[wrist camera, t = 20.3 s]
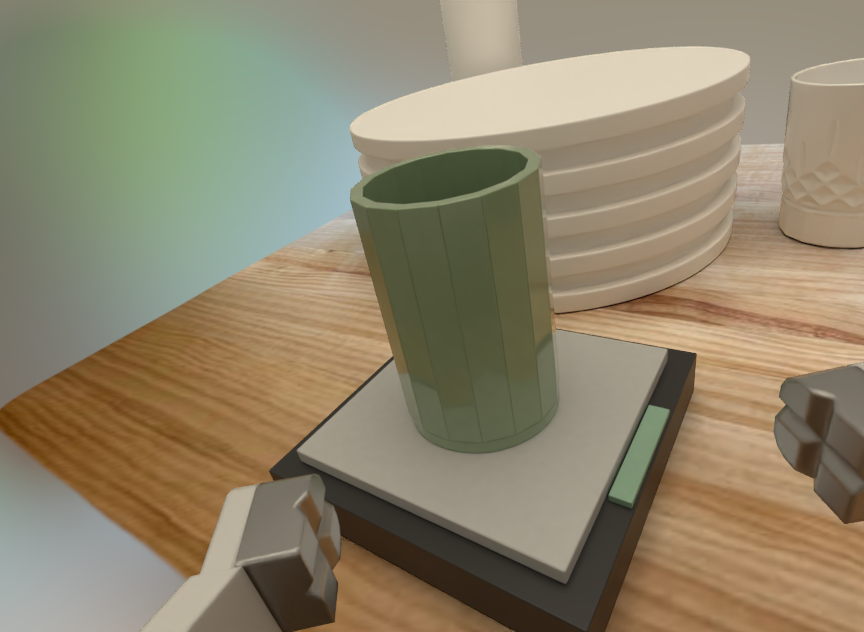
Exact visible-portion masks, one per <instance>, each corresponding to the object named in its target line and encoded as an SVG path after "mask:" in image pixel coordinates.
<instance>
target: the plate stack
mask: <svg viewBox="0 0 864 632" xmlns="http://www.w3.org/2000/svg"><path fill="white" fill-rule="evenodd" d="M750 61H751V60H750V57H749V56H748V55H747V54H745V53H743V52H741V51H738V50H734V49H728V48H719V47H696V46H695V47H664V48H650V49H638V50H628V51H618V52H611V53H601V54H594V55H587V56H580V57H573V58H566V59H561V60H554V61H548V62H543V63H537V64H532V65H526V66H521V67H516V68H511V69H506V70H501V71H497V72H492V73H487V74H483V75H479V76H474V77H470V78H466V79H462V80H458V81H454V82H450V83H447V84H443V85H440V86H436V87H432V88H429V89H425V90H422V91H419V92H416V93H413V94H409V95H407V96H404V97H401V98H398V99H395V100H392V101H390V102H387V103H385V104H382V105H380V106H378V107H376V108H373V109H371V110H369V111H368V112H366V113H364V114H362V115H361V116H359V117H358V118H356V119H355V120H354V121H353V122H352V124H351V125H350V133H351V136H352V141H353V144H354V147H355V148H356V149H357V150H358V151H359V152H361V153H362V154H361V155H360V158H359V161H358V162H359V168H360V171H361V176H362V179H363V178H364V177H366V176H368V175H370V174H372V173H374V172H376V171H379V170H381V169H383V168H385V167H388V166H389V165H393V164H396V163H399V162H402V161H405V160H408V159H411V158H414V157H417V156H422V155H426V154H431V153H435V152H440V151H444V150H449V149H457V148H465V147H473V146H489V145H509V146H516V147H522V148H528V149H531V150H533V151H534V152H535V153H537V154H538V155H540V156H541V158H542V167H543V180H544V192H545V205H546V217H547V229H548V242H549V254H550V266H551V279H552V291H553V304H554V313H564V312H573V311H580V310H586V309H592V308H598V307H603V306H608V305H612V304H617V303H621V302H625V301H628V300H632V299H636V298H639V297H642V296H645V295H648V294H651V293H654V292H657V291H660V290H662V289H665V288H667V287H669V286H672V285H674V284H676V283H678V282H681V281H683V280H684V279H686V278H688V277H690V276H692V275H694V274H695V273H697V272H698V271H700V270H702V269H703V268H704V267H706V266H707V265H708V264H710V263H711V262H712V261H713V260H714V259H715V258H717V257H718V255H719V254H720V253H721V252H722V251H723V250H724V248H725V247H726V245H727V243H728V241H729V239H730V237H731V232H732V224H733V207H732V206H733V204H734V202H735V197H736V188H737V175H736V172H735V171H736V169H737V167H738V165H739V161H740V152H741V138H740V136H739V134H738V133H739V131H740V130H741V128H742V126H743V123H744V116H745V106H746V101H745V99H744V97H743V96H742V95H741V94H740V93H739V92H740V91H742V90H743V89H744V88H745V86H746V85H747V83H748V79H749V71H750Z"/></svg>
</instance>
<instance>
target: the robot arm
mask: <svg viewBox="0 0 864 632" xmlns="http://www.w3.org/2000/svg"><path fill="white" fill-rule="evenodd" d="M779 397H780V398H781V400H782V401H783V402H784V403H785V404H786V405H785V406H784V408H783V409H782V410H781V411H780V412H779V413H778V414H777V415H776V416H775V423H774V435H775V439H776V442H777V446H778V448H779V450H780V451H781V453H782V455H783V456H784V458H785V459H786V461H787V462H788V463H789V464H790V465H791V466H792V467H793V468H794V470H796V471H798V472H800V473H803V474H805V475H807V476H809V477H811V478H814V492H815V493H816V494H817V495H818V496H819V497H820V498H821V499H822V500H823V501H824V502H825V503H826V504H827V506H828V507H829V508H830V509H831V510H832V511H833V512H834V513H835V514H836V515H837V516H838V517H839V519H840V520H841V521H842V522H843V523H844V524H848V523H854V522H860V521H864V362H860V363H855V364H850V365H847V366H842V367H837V368H832V369H827V370H823V371H818V372H813V373H808V374H804V375H799V376H794V377H790V378H787V379H786V380H785V381H784V382H783V384H782V385H781V389H780V394H779ZM324 496H325V486H324V484H323V481H322V479H321V477H320V475H318V474H310V475H304V476H298V477H293V478H287V479H281V480H276V481H270V482H264V483H260V484H257V485H251V486H245V487H239V488H233V489H232V490H231V491H230V492H229V493H228V495H227V496H226V498H225V501H224V504H223V507H222V510H221V513H220V516H219V519H218V522H217V525H216V528H215V531H214V533H213V536H212V539H211V542H210V545H209V548H208V551H207V554H206V557H205V560H204V563H203V566H202V568H201V571H200V574H199V575H195V576H191V577H190V578H189V579H188V580H187V581H186V582H185V583H184V584H183V585H182V586H181V587H180V588H179V589H178V590H177V591H176V593H175V594H174V595H173V596H172V597H171V598H170V599H169V600H168V601H167V602H166V603H165V604H164V605H163V606H162V607H161V609H160V610H159V611H158V612H157V613H156V614H155V615H154V616H153V617H152V618H151V619H150V620H149V621H148V622H147V623H146V625H145V626H144V627H143V628H142V629H141V630H140V631H139V632H293V631H297V630H302V629H306V628H311V627H315V626H320V625H324V624H329V623H333V622H335V612H336V601H337V590H338V582H337V580H336V578H335V576H334V574H333V571H332V570H333V569H334V567H335V566H336V564H337V563H338V562H339V560H340V555H341V534H340V525H339V521H338V517H337V513H336V511H335V509H334V506H333V505H332V504H331V503H329V502H327V501H325V500H324Z"/></svg>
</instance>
